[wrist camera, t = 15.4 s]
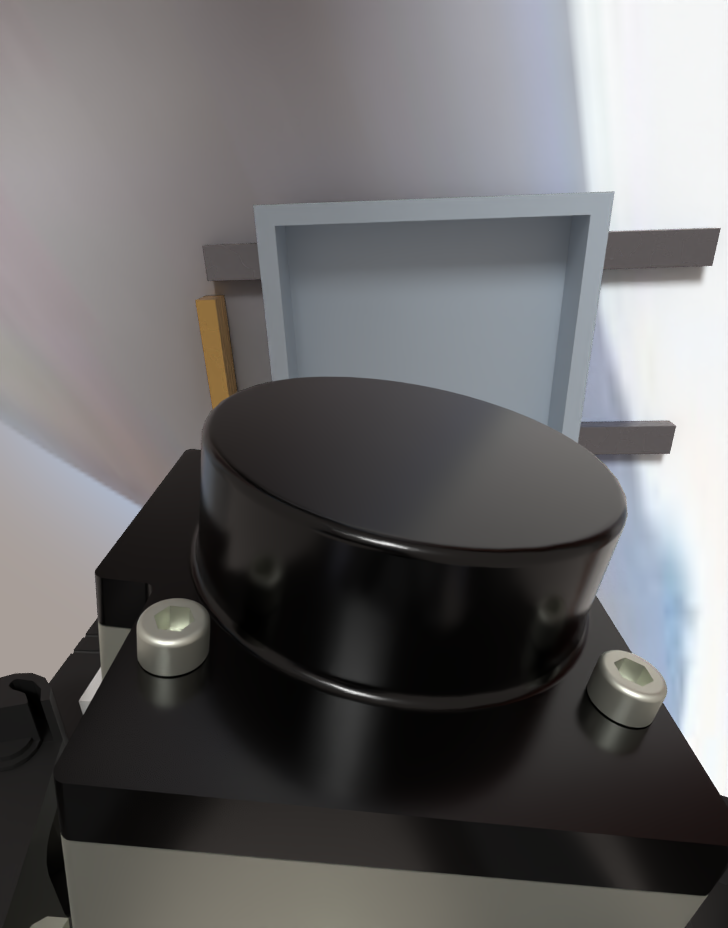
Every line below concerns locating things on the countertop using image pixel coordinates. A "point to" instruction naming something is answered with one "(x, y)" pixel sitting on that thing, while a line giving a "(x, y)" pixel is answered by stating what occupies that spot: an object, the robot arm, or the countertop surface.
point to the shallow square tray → (440, 294)
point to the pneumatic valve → (377, 686)
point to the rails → (620, 253)
